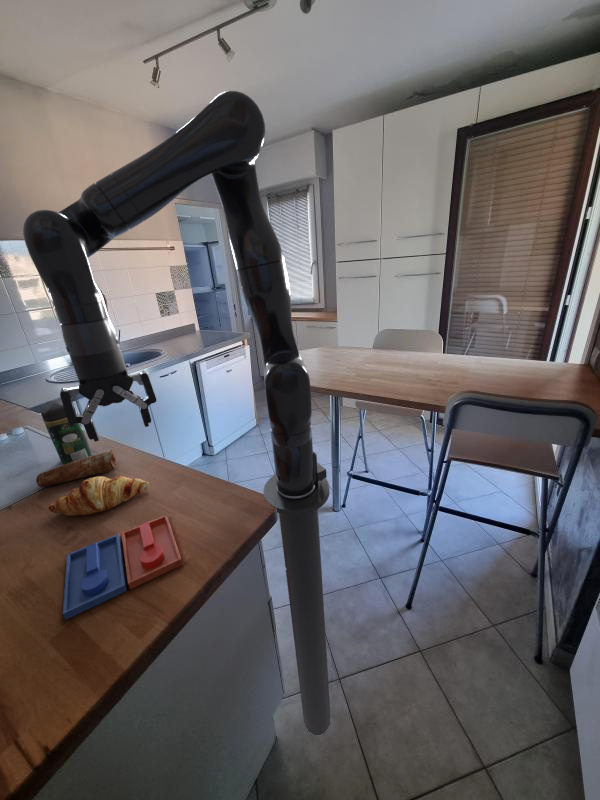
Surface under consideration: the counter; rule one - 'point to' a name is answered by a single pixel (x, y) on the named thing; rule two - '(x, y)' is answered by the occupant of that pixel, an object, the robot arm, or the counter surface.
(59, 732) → the counter surface
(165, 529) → the terracotta tray
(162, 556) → the red spoon
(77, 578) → the blue tray
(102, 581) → the blue spoon
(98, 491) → the croissant
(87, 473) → the bread
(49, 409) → the coffee jar
